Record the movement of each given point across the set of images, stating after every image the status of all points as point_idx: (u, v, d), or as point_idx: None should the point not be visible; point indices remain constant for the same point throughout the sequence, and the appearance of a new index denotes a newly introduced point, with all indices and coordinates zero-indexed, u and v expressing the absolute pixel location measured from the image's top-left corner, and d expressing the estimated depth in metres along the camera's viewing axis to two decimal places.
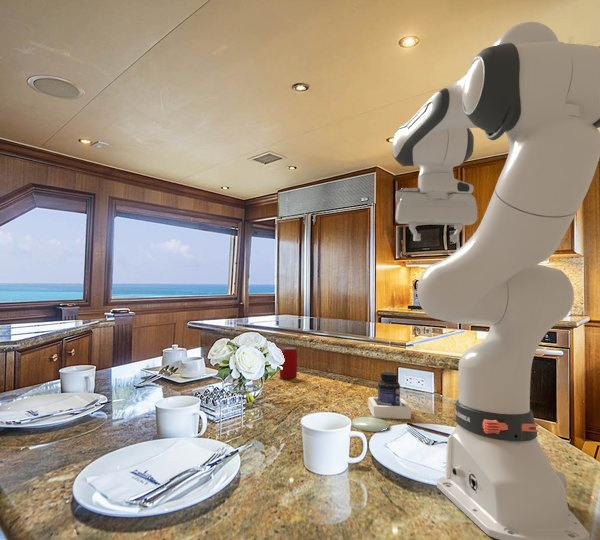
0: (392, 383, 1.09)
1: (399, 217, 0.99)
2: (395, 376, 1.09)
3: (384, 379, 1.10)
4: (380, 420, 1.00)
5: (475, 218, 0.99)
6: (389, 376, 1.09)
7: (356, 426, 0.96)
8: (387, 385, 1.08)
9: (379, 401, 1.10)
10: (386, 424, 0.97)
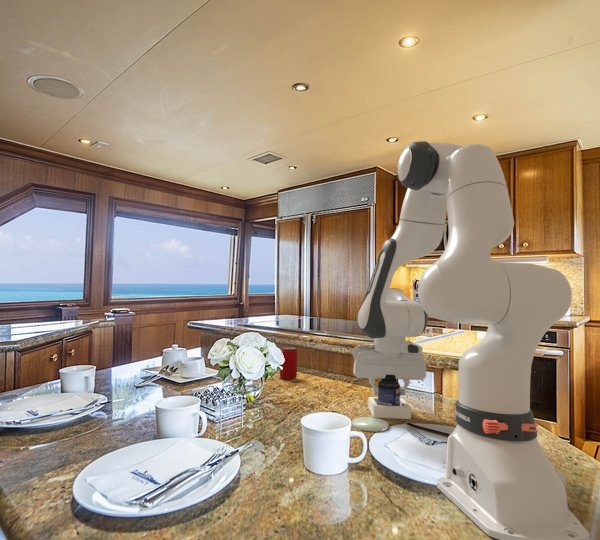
0: (392, 383, 1.09)
1: (355, 374, 1.10)
2: None
3: (384, 379, 1.10)
4: (380, 420, 1.00)
5: (424, 376, 1.09)
6: (389, 376, 1.09)
7: (356, 426, 0.96)
8: (387, 385, 1.08)
9: (379, 401, 1.10)
10: (386, 424, 0.97)
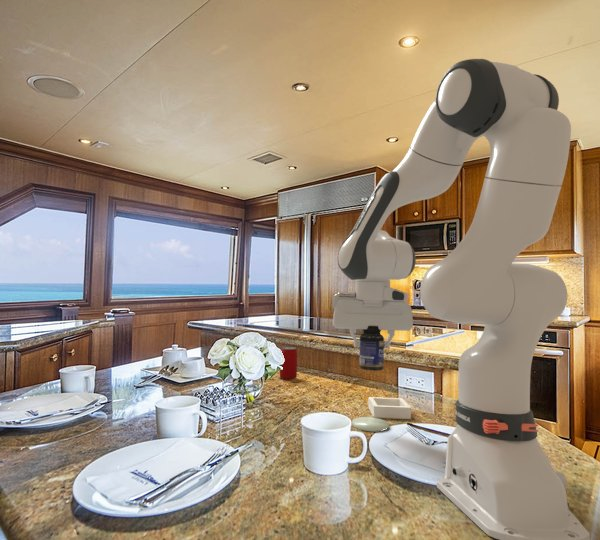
0: (375, 335, 0.98)
1: (334, 324, 0.99)
2: None
3: (366, 330, 0.99)
4: (380, 420, 1.00)
5: (410, 326, 0.98)
6: (372, 327, 0.98)
7: (356, 426, 0.96)
8: (370, 337, 0.97)
9: (361, 355, 0.99)
10: (386, 424, 0.97)
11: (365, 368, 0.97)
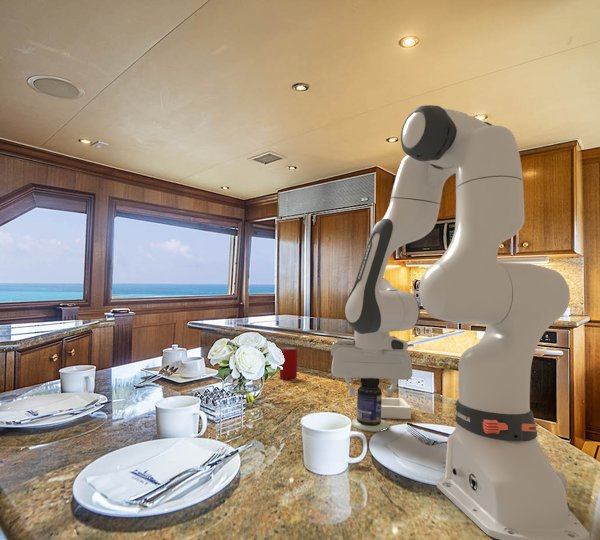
0: (373, 389, 0.97)
1: (333, 373, 0.98)
2: (376, 381, 0.97)
3: (364, 384, 0.98)
4: None
5: (410, 375, 0.97)
6: (369, 381, 0.97)
7: (356, 426, 0.96)
8: (367, 392, 0.96)
9: (358, 409, 0.98)
10: (386, 424, 0.97)
11: (362, 423, 0.96)
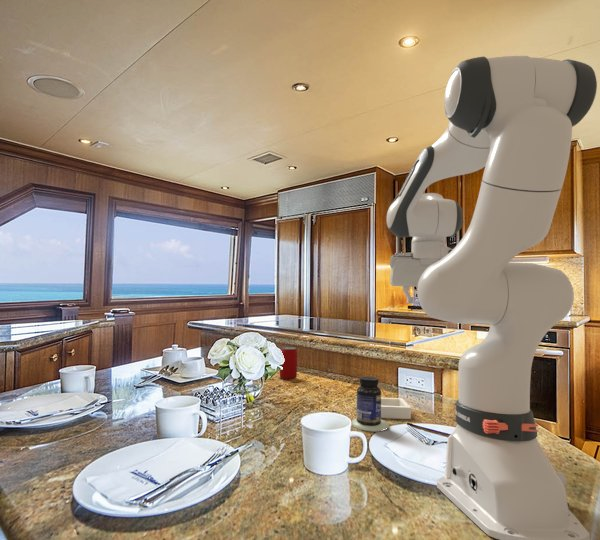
0: (372, 389, 0.97)
1: (393, 282, 1.05)
2: (375, 381, 0.97)
3: (363, 384, 0.98)
4: None
5: None
6: (369, 381, 0.97)
7: (356, 426, 0.96)
8: (367, 392, 0.96)
9: (358, 409, 0.98)
10: (386, 424, 0.97)
11: (362, 423, 0.96)
